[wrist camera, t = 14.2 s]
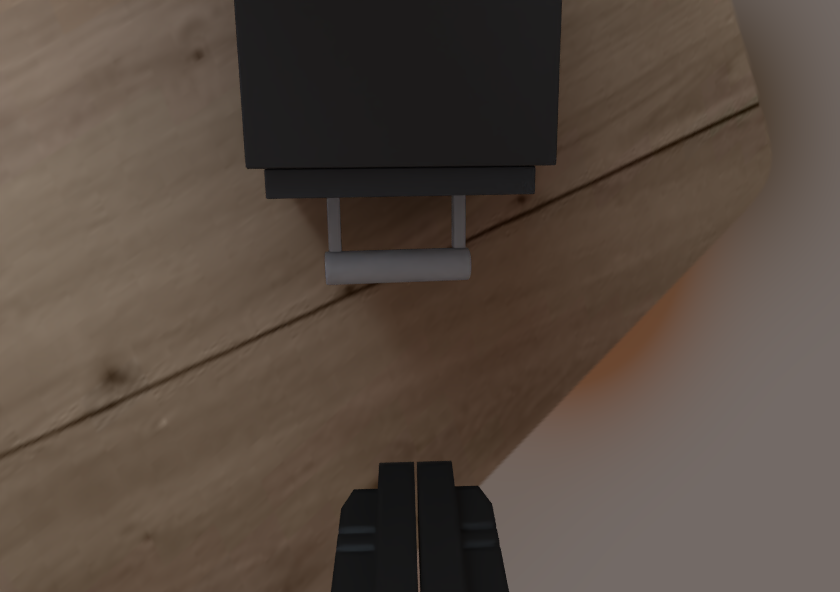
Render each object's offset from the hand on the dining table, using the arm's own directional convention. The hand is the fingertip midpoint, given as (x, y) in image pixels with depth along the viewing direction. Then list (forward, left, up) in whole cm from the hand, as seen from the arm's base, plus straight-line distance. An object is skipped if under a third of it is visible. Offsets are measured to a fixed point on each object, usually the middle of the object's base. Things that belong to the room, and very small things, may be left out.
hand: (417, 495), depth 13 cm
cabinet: (+12, -8, -23) cm, 27 cm away
